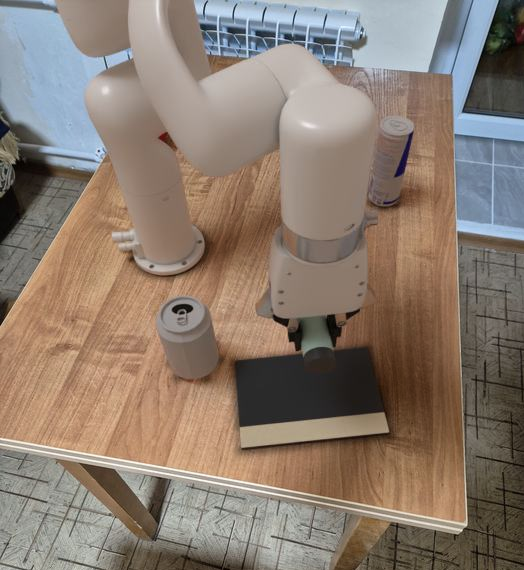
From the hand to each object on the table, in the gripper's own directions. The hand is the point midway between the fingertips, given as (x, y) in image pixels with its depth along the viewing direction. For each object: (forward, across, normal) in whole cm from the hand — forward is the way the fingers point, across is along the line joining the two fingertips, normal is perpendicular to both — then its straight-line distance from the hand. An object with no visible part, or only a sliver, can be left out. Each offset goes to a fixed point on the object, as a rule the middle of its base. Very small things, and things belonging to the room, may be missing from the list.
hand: (313, 339), depth 63 cm
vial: (0, 0, 0) cm, 0 cm away
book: (+13, 0, +1) cm, 13 cm away
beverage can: (+13, -20, -39) cm, 45 cm away
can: (+13, +16, -7) cm, 22 cm away
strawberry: (+13, +22, -63) cm, 68 cm away
